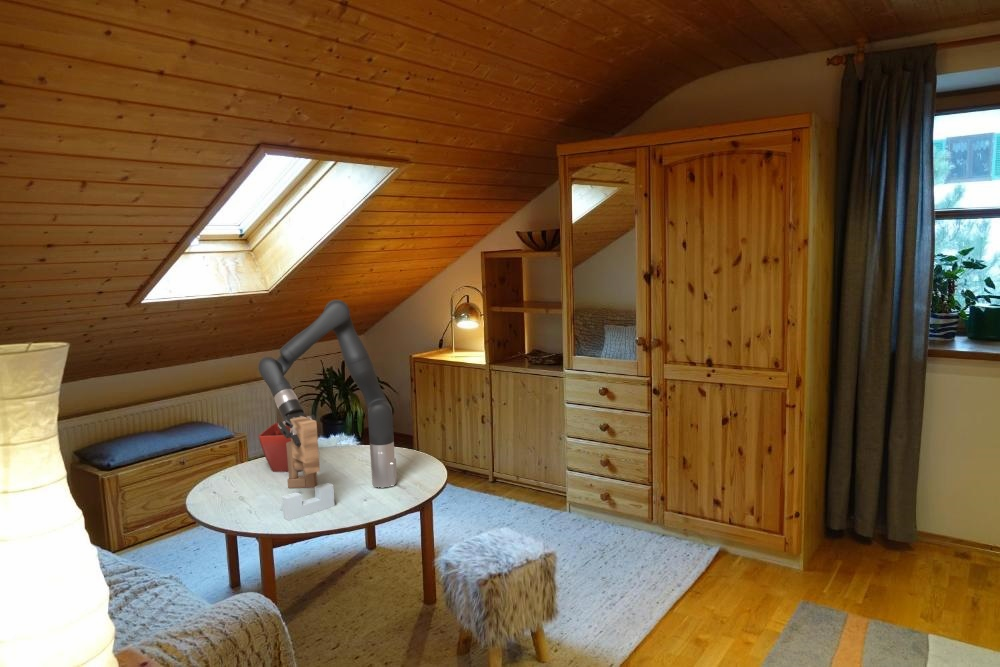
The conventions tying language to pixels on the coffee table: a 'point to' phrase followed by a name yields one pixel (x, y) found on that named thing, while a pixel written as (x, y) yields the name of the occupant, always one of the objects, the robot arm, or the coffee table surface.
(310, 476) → the brown notched handled part
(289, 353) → the robot arm
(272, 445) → the plant pot
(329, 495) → the white notched u-shaped brace
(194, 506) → the coffee table surface
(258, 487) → the coffee table surface
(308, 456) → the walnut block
